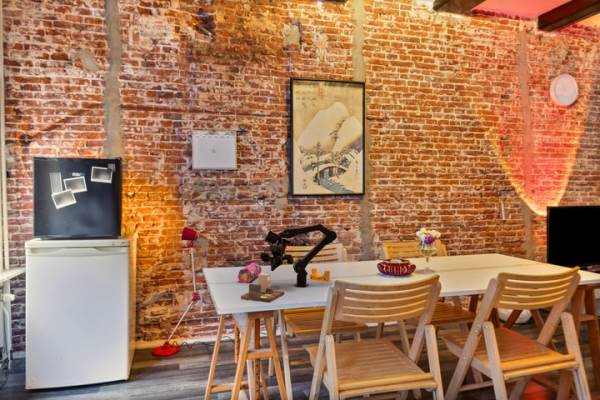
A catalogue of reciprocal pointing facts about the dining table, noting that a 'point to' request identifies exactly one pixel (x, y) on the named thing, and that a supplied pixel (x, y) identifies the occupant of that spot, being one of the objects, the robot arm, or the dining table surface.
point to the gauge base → (275, 295)
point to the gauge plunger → (264, 281)
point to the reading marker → (269, 290)
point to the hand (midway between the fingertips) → (271, 270)
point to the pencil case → (249, 273)
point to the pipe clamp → (322, 278)
